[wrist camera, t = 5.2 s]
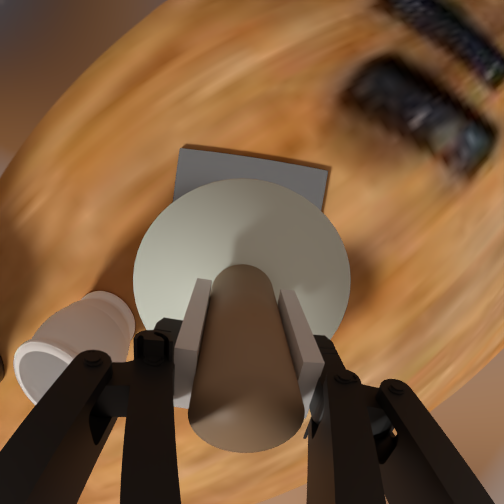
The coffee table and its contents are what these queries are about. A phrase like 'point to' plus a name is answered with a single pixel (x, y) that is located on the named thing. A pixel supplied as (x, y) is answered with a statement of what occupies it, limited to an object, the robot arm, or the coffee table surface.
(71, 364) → the robot arm
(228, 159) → the mat
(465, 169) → the coffee table surface
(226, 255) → the lid
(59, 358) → the jar
